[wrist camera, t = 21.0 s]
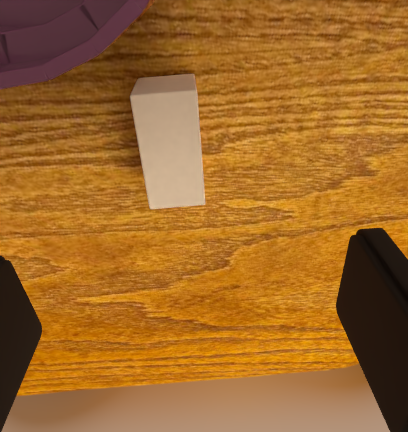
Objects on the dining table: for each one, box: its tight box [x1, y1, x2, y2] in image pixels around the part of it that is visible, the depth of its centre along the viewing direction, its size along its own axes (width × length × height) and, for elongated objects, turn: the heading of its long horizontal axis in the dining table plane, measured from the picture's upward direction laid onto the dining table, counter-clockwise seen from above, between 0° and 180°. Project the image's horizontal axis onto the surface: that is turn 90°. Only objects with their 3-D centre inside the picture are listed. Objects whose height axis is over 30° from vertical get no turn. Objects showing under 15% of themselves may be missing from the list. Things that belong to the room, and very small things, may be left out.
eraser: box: [130, 74, 205, 209], centre depth 18 cm, size 6×3×4 cm, turn 4°
